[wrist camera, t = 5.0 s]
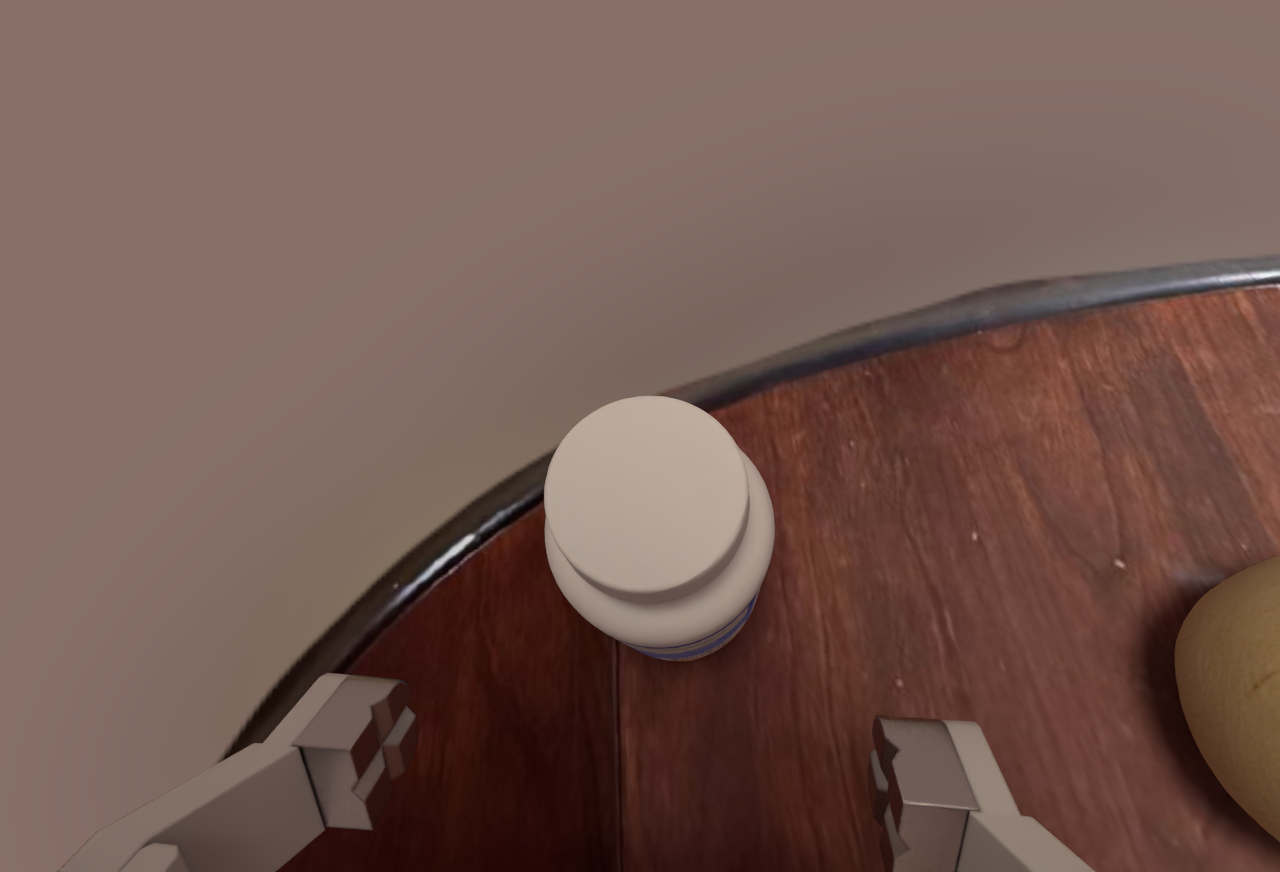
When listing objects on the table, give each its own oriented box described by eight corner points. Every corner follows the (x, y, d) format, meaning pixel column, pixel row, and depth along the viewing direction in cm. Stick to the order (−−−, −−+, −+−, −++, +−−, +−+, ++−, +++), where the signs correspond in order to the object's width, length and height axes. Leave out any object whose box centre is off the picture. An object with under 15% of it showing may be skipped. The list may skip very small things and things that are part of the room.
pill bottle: (631, 480, 22) (567, 332, 13) (779, 526, 21) (817, 395, 12) (573, 629, 20) (456, 571, 12) (732, 690, 19) (736, 677, 10)
